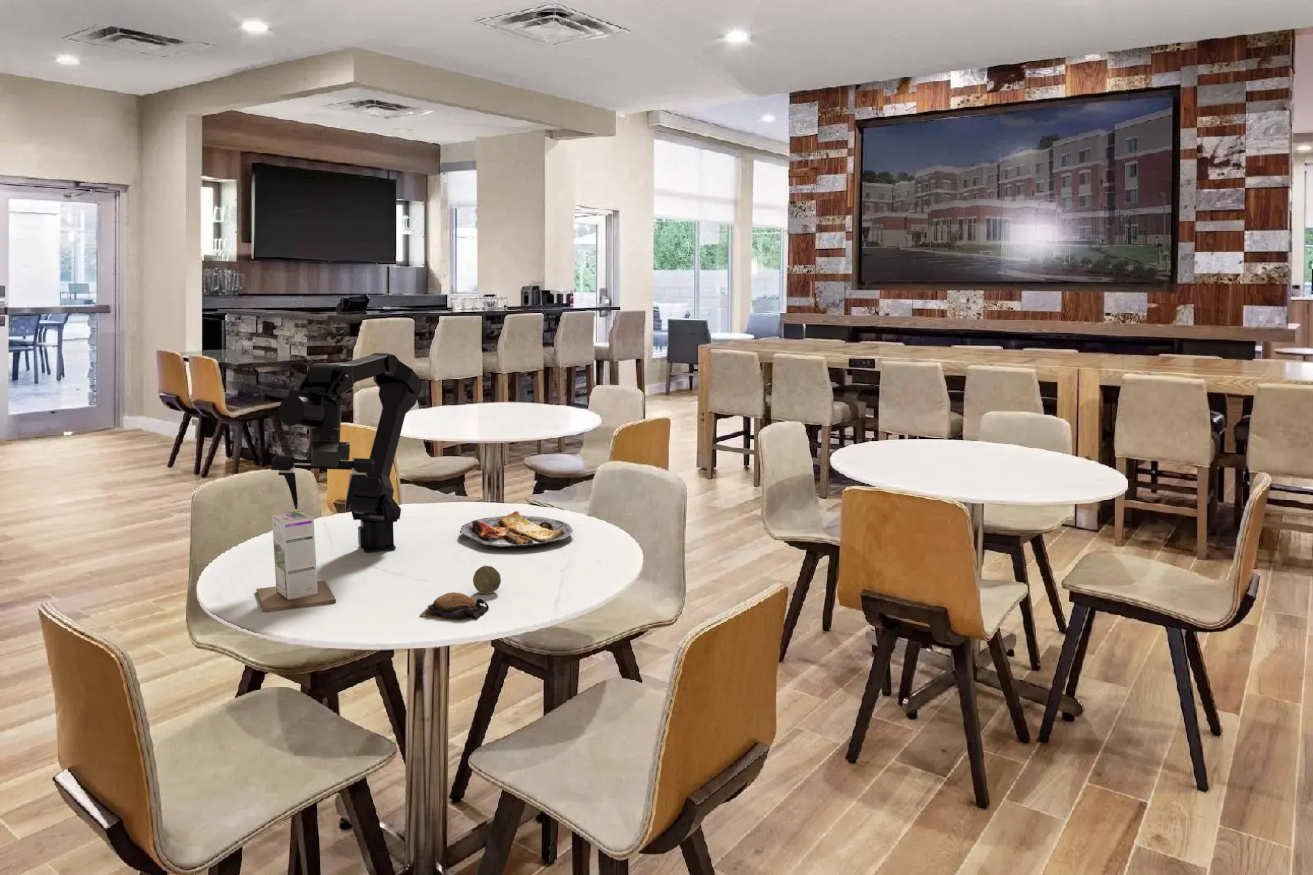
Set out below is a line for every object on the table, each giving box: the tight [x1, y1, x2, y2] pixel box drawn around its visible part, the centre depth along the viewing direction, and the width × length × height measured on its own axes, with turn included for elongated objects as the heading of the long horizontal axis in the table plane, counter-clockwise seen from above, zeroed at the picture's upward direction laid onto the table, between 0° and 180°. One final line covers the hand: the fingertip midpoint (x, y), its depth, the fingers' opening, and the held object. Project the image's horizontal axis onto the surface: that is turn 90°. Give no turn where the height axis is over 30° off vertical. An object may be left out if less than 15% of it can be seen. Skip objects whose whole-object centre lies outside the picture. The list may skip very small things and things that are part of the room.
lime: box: [472, 565, 502, 595], centre depth 181 cm, size 4×5×5 cm
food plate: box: [459, 510, 574, 548], centre depth 221 cm, size 25×23×4 cm
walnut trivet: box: [256, 580, 337, 613], centre depth 177 cm, size 12×12×1 cm
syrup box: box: [271, 510, 318, 600], centre depth 176 cm, size 6×6×14 cm
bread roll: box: [419, 591, 490, 621], centre depth 171 cm, size 11×8×4 cm
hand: (321, 509), depth 190 cm, fingers open, 9 cm apart
